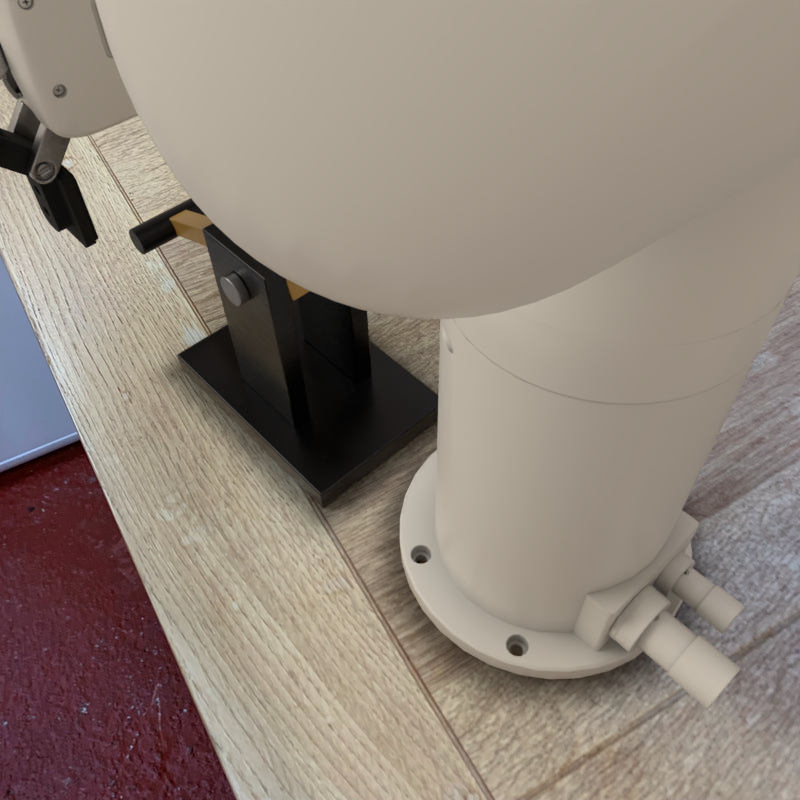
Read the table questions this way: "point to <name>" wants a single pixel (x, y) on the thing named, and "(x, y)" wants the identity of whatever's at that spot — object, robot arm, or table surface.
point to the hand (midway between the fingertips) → (162, 190)
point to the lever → (182, 233)
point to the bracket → (304, 377)
